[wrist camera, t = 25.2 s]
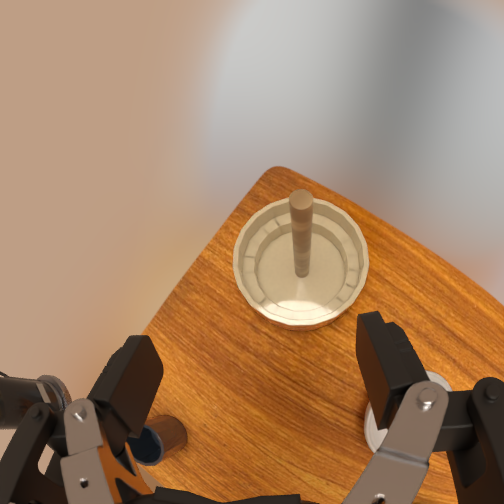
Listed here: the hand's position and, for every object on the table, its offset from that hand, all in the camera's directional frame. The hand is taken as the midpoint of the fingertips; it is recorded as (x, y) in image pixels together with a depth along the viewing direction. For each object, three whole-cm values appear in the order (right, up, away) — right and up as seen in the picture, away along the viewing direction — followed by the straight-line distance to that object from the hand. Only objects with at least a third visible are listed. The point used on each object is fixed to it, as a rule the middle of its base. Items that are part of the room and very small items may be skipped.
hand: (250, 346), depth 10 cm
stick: (+6, +1, +26) cm, 26 cm away
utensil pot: (-11, -21, +21) cm, 31 cm away
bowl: (+6, +1, +26) cm, 27 cm away
